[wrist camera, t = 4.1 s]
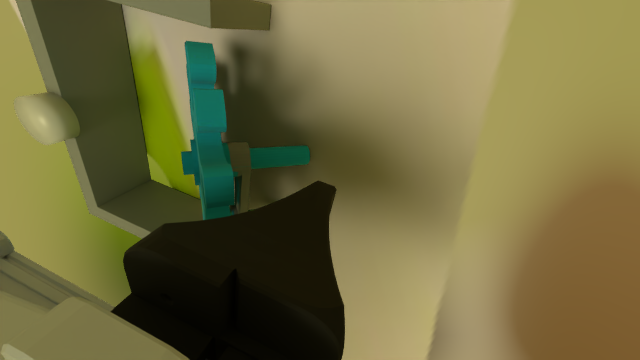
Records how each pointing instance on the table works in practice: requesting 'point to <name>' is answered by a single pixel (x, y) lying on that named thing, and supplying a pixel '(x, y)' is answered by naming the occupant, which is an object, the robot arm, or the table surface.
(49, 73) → the housing
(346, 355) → the table surface
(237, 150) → the gear
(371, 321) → the table surface
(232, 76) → the table surface
